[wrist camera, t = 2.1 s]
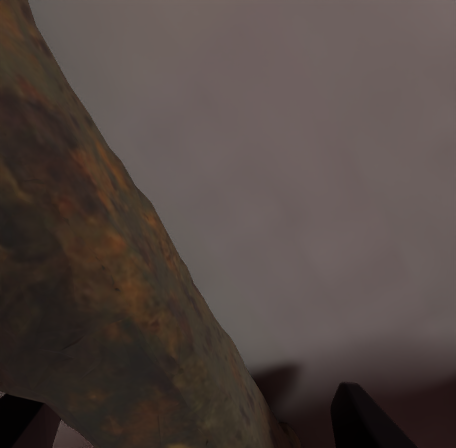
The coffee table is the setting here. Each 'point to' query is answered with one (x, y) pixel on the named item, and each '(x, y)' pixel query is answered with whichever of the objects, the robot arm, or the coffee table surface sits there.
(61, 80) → the hand tool
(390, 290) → the coffee table surface
